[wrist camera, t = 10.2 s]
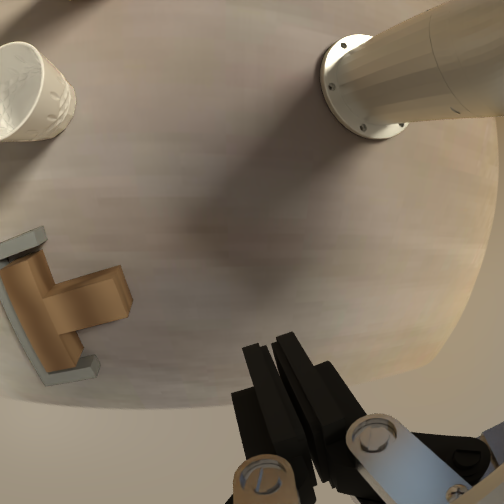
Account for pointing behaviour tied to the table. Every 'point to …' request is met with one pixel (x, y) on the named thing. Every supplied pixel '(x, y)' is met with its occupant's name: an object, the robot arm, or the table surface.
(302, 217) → the table surface
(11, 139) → the white cup
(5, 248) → the bracket
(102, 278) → the t block
